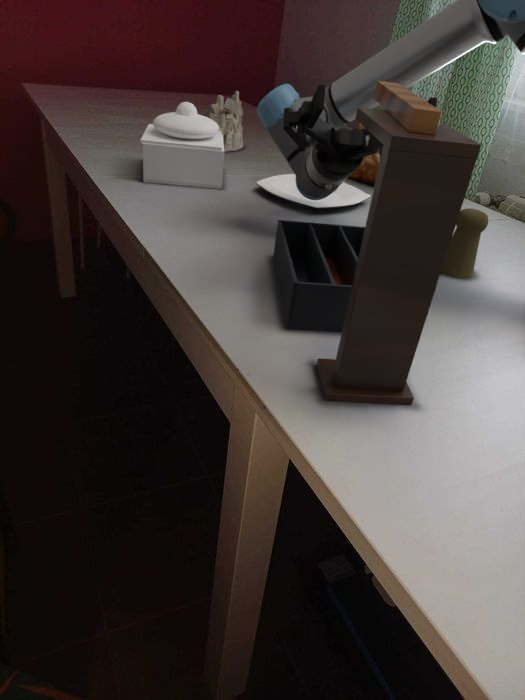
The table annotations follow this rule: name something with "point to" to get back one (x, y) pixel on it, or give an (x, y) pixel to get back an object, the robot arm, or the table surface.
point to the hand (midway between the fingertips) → (378, 102)
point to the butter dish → (183, 149)
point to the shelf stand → (398, 258)
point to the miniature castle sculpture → (228, 120)
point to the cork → (465, 243)
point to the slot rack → (316, 272)
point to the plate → (288, 191)
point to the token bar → (408, 108)
